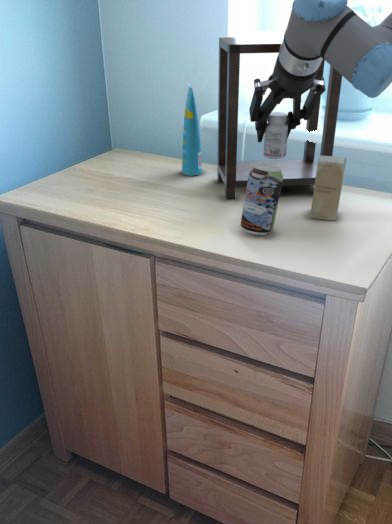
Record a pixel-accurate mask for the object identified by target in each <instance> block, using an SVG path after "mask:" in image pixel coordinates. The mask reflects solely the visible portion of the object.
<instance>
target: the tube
mask: <svg viewBox="0 0 392 524" xmlns="http://www.w3.org/2000/svg"><path fill="white" fill-rule="evenodd" d="M187 85H188V90H187V94H186V101H185V109H184V117H183V132H182V153H181V154H182V155H181V156H182V158H181V173H182V175H185V176H191V177H192V176H198V175H201V174H202V173H203V159H202V158H203V157H202V156H203V155H202V143H201V131H200V122H199V115H198V108H197V102H196V97H195V93H194V89H193V88H192V87H191V85H190V83H187Z"/></svg>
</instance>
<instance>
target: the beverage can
mask: <svg viewBox="0 0 392 524" xmlns="http://www.w3.org/2000/svg"><path fill="white" fill-rule="evenodd" d="M281 171H282V170H281V169H280V168H278V167H275V166H271V165H264V164H256V165H254V167H253V169H252V170H251V171H250V173H249V177H248V183H247V187H246V190H245V195H244V201H243V207H242V213H241V219H240V227H241V228H243V231H245V232H246V233H249V234H252V235H257V236H265V235H268V234H269V233H271V232H273V230H274V226H275V222H276V217H277V213H278V212H277V211H278V207H279V202H280V196H281V193H282V187H283V186H282V182H283V175H282V173H281Z"/></svg>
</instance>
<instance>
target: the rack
mask: <svg viewBox="0 0 392 524" xmlns="http://www.w3.org/2000/svg"><path fill="white" fill-rule="evenodd" d="M283 37H284V35H283V36H282V35H281V36H280V35H279V36H234V37H233V36H229V37H226V36H225V37H223V36H222V37H218V79H217V80H218V83H217V84H218V85H217V86H218V89H217V91H218V94H217V155H216V156H217V161H216V163H217V164H216V167H217V168H216V172H217V173H216V180H217V183H218V184H219V183H223V184H224V198H225V201H233V200H234V201H235V200H236V195H237V193H236V192H237V190H236V189H240V188H241V189H242V188H243V189H244V188H247V183H248V177H249V173H250V171H251V170H252V169H253V167H254V165H256V164H264V165H271V166H275V167H278V168H280V169H281V170H282V171H281V173H282V175H283V182H282V187H290V186H291V187H293V186H312V185H313V186H315V178H316V171H317V164H318V163H316V162H315V155H316V154H315V153H316V145H317V142H316V143H313V142H309V141H308V140H307V141H306V142H305V141H304V145H303V146H304V147H303V155H302V156H303V157H302V159H275V160H256V161H255V160H253V161H237V160H238V159H237V158H238V130H239V129H238V128H239V127H238V126H239V99H240V98H239V96H240V95H239V94H240V69H241V68H240V66H241V65H240V63H241V54H279V50H280V47H281V44H282V40H283ZM325 62H326V61H325V60H324V59H323V60H322V62H321V64H320V66H319V69H318V72H317V74H316V77H315V79H316V80H317V79H318V78H319V77H324V71H325ZM328 74H329V75H328V82H327V90H326V91H327V92H326V99H325V100H326V101H325V108H324V117H323V126H322V135H321V136H322V137H321V143H320V144H321V146H320V153H319V157H320V156H333V154H334V153H333V152H334V145H335V138H336V131H337V130H336V129H337V121H338V113H339V106H340V96H341V90H342V81H343V76H342V75H341V74H340V73H339V72H338V71H336V70H335V69H334V68H333V67H332V66H331V65H330V64H329V73H328ZM321 97H322V95H321V96H320V97H319V99H318V101H317V103H316V105H315V108H314V110H313V112H312V114H311V116H310V119H308V120H306V127H305V130H306V129H307V130H308V131H309V132H310V131H313V130H314V131H315V130H317V131H318V127H319V117H320V109H321V108H320V107H321Z"/></svg>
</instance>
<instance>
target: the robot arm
mask: <svg viewBox="0 0 392 524" xmlns="http://www.w3.org/2000/svg"><path fill="white" fill-rule="evenodd" d="M291 7H292V8H291V11H290V15H289V18H288V22H287V26H286V29H285V32H284V34H283V36H284V37H283V40H282V44H281V47H280V50H279V53H277V57H276V60H275V63H274V65H273V66H274V67H273V71H272V73H271V74H270V75H269V76H268V79H266V80H263V81H261V79H260V78H255V79H254V80H253V86H254V91H253V95H252V98H251V102H250V106H249V120H250V122H251V123H254V125H255V126H254V127H255V128H254V129H255V131H256V135H257V137H256V138H257V143H262V142H263V140H264V135H265V130H266V127H267V123H268V122H267V118H268V116H269V115H270V114H271V112H274V110H275V108H276V107H277V106H278V105H280V104H281V103H282V101H283V100H284V99H292V111H288V112H287V122H285V123H286V124H287V125H288V133H287V140H288V139H289V136H290V134H291V132H292V130H295V129H297V127H299V126H300V125H301V120H304V121H307V120H308V119H310V116H311V114H312V112H313V110H314V108H315V105H316V103H317V101H318V99H319V97H320V96H321V97H322V95H323V94H324V93H325V91H327V90H326V84H325V77H324V76H323V77H319V78H318V79H317V80H316V79H315V77H316V74H317V72H318V69H319V66H320V64H321V62H322V60H323V59H324V60H325V62H326V63H327V64H328V65H329V66H330V65H331V66H332V67H333V68H334V69H335V70H336V71H338V72H339V73H340V74H341V75H342V78H344V79H346V80H347V82H349V83H350V84H351V85H352V87H353V88H354V89H355V90H358V91H359V92H361V93H362V94H364V95H365V96H366V97H368V98H370V99H376V98H377V97H379V96H380V95H382V93H383V92H384V91H385V90H386V89H387V88H388V87H389V86H390V85H391V84H392V12H390V13H389V14H388V15H387V16H385V18H384V19H383V20H382V21H381V22H380V23H379V24H378V25H375V26H371V25H370V24H369V23H368V22H366V21H365V20H364V19H363V18H361V17H360V16H359V15H358V14H357V13H356V12H355V11H354V10H353V8H351V7H349V6H348V0H293V2H292V5H291ZM268 89H270V91H269V93H268V95H267V96H266V98H265V100H264V99H263V98H264V96H265V95H266V92H267V90H268ZM306 92H308V93H307V96H306V98H305V100H304V103H303V105H301V104H302V95H303V94H305V93H306ZM301 107H302V108H301Z"/></svg>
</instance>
